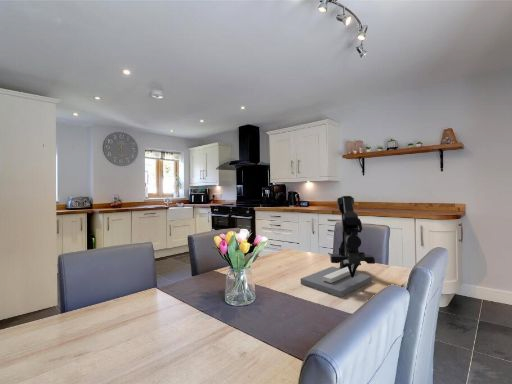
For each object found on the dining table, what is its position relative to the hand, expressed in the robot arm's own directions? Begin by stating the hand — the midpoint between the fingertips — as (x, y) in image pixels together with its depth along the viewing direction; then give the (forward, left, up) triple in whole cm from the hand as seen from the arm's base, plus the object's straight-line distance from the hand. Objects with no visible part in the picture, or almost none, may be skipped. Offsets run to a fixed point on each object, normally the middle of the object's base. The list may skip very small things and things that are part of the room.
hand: (352, 277), depth 124 cm
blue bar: (-9, -1, -3) cm, 9 cm away
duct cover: (-7, +2, -1) cm, 7 cm away
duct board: (-8, -1, -4) cm, 9 cm away
